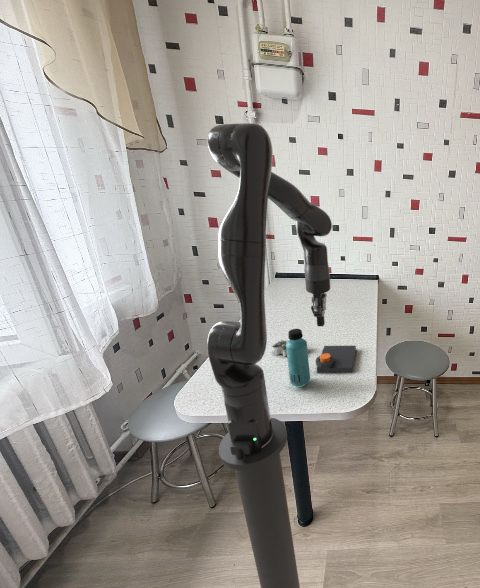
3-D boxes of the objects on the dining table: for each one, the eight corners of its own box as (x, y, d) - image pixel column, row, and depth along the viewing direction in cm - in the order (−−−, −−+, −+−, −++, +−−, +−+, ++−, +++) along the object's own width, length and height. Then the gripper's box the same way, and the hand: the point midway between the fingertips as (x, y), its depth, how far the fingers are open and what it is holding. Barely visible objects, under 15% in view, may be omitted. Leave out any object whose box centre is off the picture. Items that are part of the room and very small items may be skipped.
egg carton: (307, 349, 128) (306, 340, 126) (295, 360, 121) (294, 350, 119) (283, 344, 130) (282, 335, 129) (270, 354, 124) (269, 344, 122)
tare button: (329, 363, 115) (329, 358, 114) (319, 363, 114) (318, 358, 114) (331, 357, 118) (331, 353, 117) (321, 357, 118) (320, 353, 117)
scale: (352, 372, 115) (351, 364, 114) (314, 373, 114) (314, 364, 113) (355, 349, 129) (355, 341, 128) (322, 349, 128) (322, 342, 127)
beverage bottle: (310, 377, 112) (305, 324, 104) (312, 388, 106) (307, 334, 99) (289, 380, 110) (283, 327, 102) (290, 393, 104) (283, 337, 96)
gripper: (310, 270, 110) (314, 317, 117) (299, 282, 98) (304, 334, 104) (332, 270, 111) (335, 317, 117) (325, 283, 99) (328, 334, 105)
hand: (321, 325), depth 111 cm, fingers closed
